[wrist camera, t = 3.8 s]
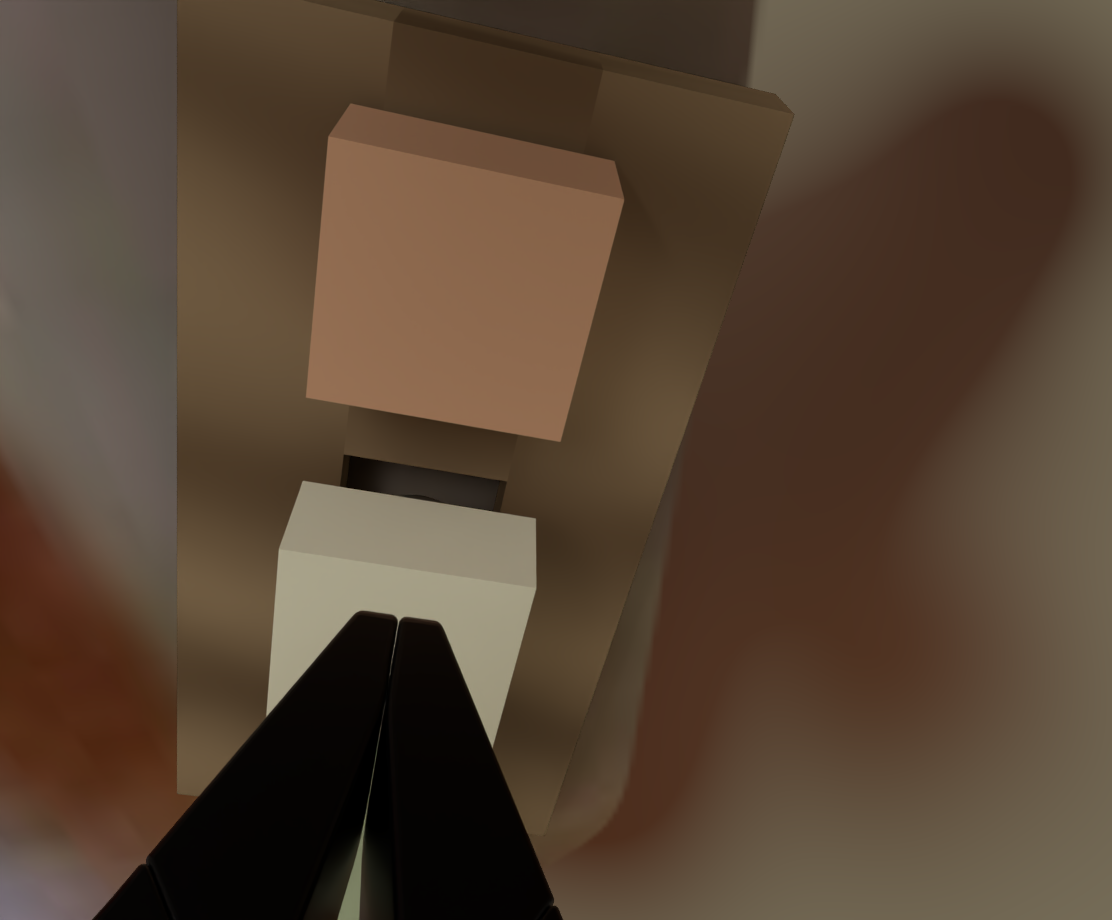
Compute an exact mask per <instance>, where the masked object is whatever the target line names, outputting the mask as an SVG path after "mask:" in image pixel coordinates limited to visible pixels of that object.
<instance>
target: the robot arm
mask: <svg viewBox="0 0 1112 920" xmlns="http://www.w3.org/2000/svg"><path fill="white" fill-rule="evenodd" d="M397 626H398V629H397ZM396 632H397V635H396ZM395 639H396V641H395ZM394 645H395V647H394ZM393 651H394V652H393ZM392 657H393V658H392ZM391 663H392V664H391ZM390 669H391V670H390ZM389 675H390V676H389ZM388 681H389V682H388ZM380 728H381V729H380ZM379 734H380V735H379ZM378 740H379V741H378ZM377 746H378V747H377ZM376 752H377V753H376ZM375 758H376V759H375ZM374 763H375V765H374ZM373 769H374V771H373ZM372 775H373V777H372ZM371 781H372V783H371ZM370 787H371V789H370ZM369 792H370V795H369ZM368 798H369V801H368ZM367 804H368V807H367ZM366 810H367V813H366ZM365 815H366V821H365V828H364V836H363V848H362V863H361V887H360V911H359V920H563V919H562V916H561V914H560V911H559V909H558V907H556V906H553V903H554V898H553V895H552V893H551V890H550V888H549V885H548V883H547V880H546V878H545V875H544V873H543V870H542V868H541V866H540V863H539V861H538V858H537V856H536V853H535V851H534V848H533V846H532V844H531V841H530V839H529V836H528V834H527V831H526V829H525V826H524V824H523V821H522V819H521V817H520V814H519V812H518V809H517V807H516V804H515V802H514V799H513V797H512V794H511V792H510V790H509V787H508V785H507V782H506V780H505V777H504V775H503V772H502V770H501V768H500V765H499V763H498V760H497V758H496V755H495V753H494V750H493V748H492V745H491V743H490V741H489V738H488V736H487V733H486V731H485V728H484V726H483V723H482V721H481V718H480V716H479V714H478V711H477V709H476V706H475V704H474V701H473V699H472V696H471V694H470V692H469V689H468V687H467V684H466V682H465V679H464V677H463V674H462V672H461V669H460V667H459V665H458V662H457V660H456V657H455V655H454V652H453V650H452V647H451V645H450V642H449V640H448V638H447V635H446V633H445V630H444V628H443V626H442V625H441V624H440V623H439V622H438V621H435V620H428V619H421V618H414V617H403V618H401V620H400V621H399V623H398V619H397V617H396V616H394V615H392V614H386V613H379V612H372V611H364V610H361V611H358V612H356V613H355V614H354V615H353V616H352V617H351V618H350V619H349V620H348V622H347V623H346V624H345V625H344V626H343V627H342V629H341V630H340V631H339V632H338V633H337V634H336V636H335V637H334V638H333V639H332V640H331V642H330V643H329V644H328V645H327V646H326V647H325V649H324V650H323V651H322V652H321V653H320V654H319V656H318V657H317V658H316V659H315V660H314V661H313V663H312V664H311V665H310V666H309V667H308V669H307V670H306V671H305V672H304V673H303V674H302V676H301V677H300V678H299V679H298V680H297V681H296V683H295V684H294V685H293V686H292V687H291V688H290V690H289V691H288V692H287V693H286V694H285V696H284V697H283V698H282V699H281V700H280V701H279V703H278V704H277V705H276V706H275V707H274V708H273V710H272V711H271V712H270V713H269V714H268V715H267V717H266V718H265V719H264V720H263V721H262V723H261V724H260V725H259V726H258V727H257V728H256V730H255V731H254V732H253V733H252V734H251V735H250V737H249V738H248V739H247V740H246V741H245V742H244V744H243V745H242V746H241V747H240V748H239V750H238V751H237V752H236V753H235V754H234V755H233V757H232V758H231V759H230V760H229V761H228V762H227V764H226V765H225V766H224V767H223V768H222V769H221V771H220V772H219V773H218V774H217V775H216V777H215V778H214V779H213V780H212V781H211V782H210V784H209V785H208V786H207V787H206V788H205V789H204V791H203V792H202V793H201V794H200V795H199V796H198V798H197V799H196V800H195V801H194V802H193V804H192V805H191V806H190V807H189V808H188V809H187V811H186V812H185V813H184V814H183V815H182V816H181V818H180V819H179V820H178V821H177V822H176V823H175V825H174V826H173V827H172V828H171V829H170V831H169V832H168V833H167V834H166V835H165V836H164V838H163V839H162V840H161V841H160V842H159V843H158V845H157V846H156V847H155V848H154V849H153V850H152V852H151V853H150V854H149V855H148V856H147V859H146V864H141V865H139V866H138V867H137V869H136V870H135V871H134V872H133V873H132V874H131V876H130V877H129V878H128V879H127V880H126V882H125V883H124V884H123V885H122V886H121V887H120V889H119V890H118V891H117V892H116V893H115V894H114V896H113V897H112V898H111V899H110V900H109V901H108V903H107V904H106V905H105V906H104V907H103V908H102V909H101V910H100V911H99V912H98V914H97V915H96V916H95V917H94V918H93V919H92V920H337V919H338V916H339V913H340V909H341V906H342V903H343V899H344V896H345V892H346V889H347V886H348V882H349V879H350V876H351V872H352V869H353V865H354V862H355V858H356V855H357V851H358V847H359V843H360V839H361V835H362V830H363V825H364V820H365Z"/></svg>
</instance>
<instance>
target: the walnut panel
mask: <svg viewBox="0 0 1112 920" xmlns="http://www.w3.org/2000/svg"><path fill="white" fill-rule="evenodd" d="M350 103H351V104H355V105H360V106H365V107H369V108H374V109H378V110H383V111H388V112H392V113H397V114H401V115H406V116H410V117H415V118H420V119H424V120H429V121H433V122H438V123H443V124H447V125H452V126H456V127H461V128H465V129H470V130H475V131H479V132H484V133H488V134H493V135H498V136H502V137H507V138H511V139H516V140H520V141H525V142H530V143H534V144H539V145H543V146H548V147H553V148H557V149H562V150H566V151H571V152H575V153H580V154H585V155H589V156H594V157H598V158H603V159H608V160H612V161H615V165H616V169H617V173H618V176H619V180H620V184H621V188H622V192H623V196H624V203H623V207H622V210H621V214H620V218H619V222H618V226H617V229H616V233H615V237H614V241H613V245H612V248H611V252H610V256H609V260H608V264H607V267H606V271H605V275H604V279H603V282H602V286H601V290H600V294H599V298H598V301H597V305H596V309H595V313H594V317H593V320H592V324H591V328H590V332H589V336H588V339H587V343H586V347H585V351H584V355H583V358H582V362H581V366H580V370H579V374H578V377H577V381H576V385H575V389H574V392H573V396H572V400H571V404H570V408H569V411H568V415H567V419H566V423H565V427H564V430H563V434H562V438H561V442H558V441H552V440H547V439H541V438H535V437H529V436H524V435H518V434H512V433H506V432H501V431H495V430H489V429H484V428H478V427H472V426H466V425H461V424H455V423H449V422H443V421H438V420H432V419H426V418H420V417H415V416H409V415H403V414H397V413H392V412H386V411H380V410H375V409H369V408H363V407H357V406H352V405H346V404H340V403H334V402H329V401H323V400H317V399H311V398H306V390H307V378H308V367H309V355H310V344H311V332H312V320H313V309H314V297H315V285H316V274H317V262H318V251H319V239H320V227H321V216H322V204H323V192H324V181H325V169H326V158H327V146H328V136H329V135H330V133H331V132H332V130H333V129H334V127H335V126H336V124H337V123H338V121H339V120H340V118H341V117H342V115H343V114H344V112H345V111H346V109H347V108H348V106H349V105H350ZM793 118H794V113H793V112H792V111H791V110H790V109H789V108H788V107H787V106H786V105H785V104H784V103H783V102H782V101H781V100H780V99H779V97H778V96H777V95H776V94H773V93H769V92H765V91H760V90H756V89H752V88H748V87H743V86H739V85H735V84H730V83H726V82H722V81H718V80H713V79H709V78H705V77H701V76H696V75H692V74H688V73H683V72H679V71H675V70H671V69H666V68H662V67H658V66H654V65H649V64H645V63H641V62H636V61H632V60H628V59H624V58H619V57H615V56H611V55H607V54H602V53H598V52H594V51H589V50H585V49H581V48H577V47H572V46H568V45H564V44H560V43H555V42H551V41H547V40H542V39H538V38H534V37H530V36H525V35H521V34H517V33H513V32H508V31H504V30H500V29H495V28H491V27H487V26H483V25H478V24H474V23H470V22H466V21H461V20H457V19H453V18H448V17H444V16H440V15H436V14H431V13H427V12H423V11H419V10H414V9H410V8H406V7H401V6H397V5H393V4H389V3H384V2H380V1H376V0H177V794H183V795H192V796H199V795H200V794H201V793H202V792H203V791H204V789H205V788H206V787H207V786H208V785H209V784H210V782H211V781H212V780H213V779H214V778H215V777H216V775H217V774H218V773H219V772H220V771H221V769H222V768H223V767H224V766H225V765H226V764H227V762H228V761H229V760H230V759H231V758H232V757H233V755H234V754H235V753H236V752H237V751H238V750H239V748H240V747H241V746H242V745H243V744H244V742H245V741H246V740H247V739H248V738H249V737H250V735H251V734H252V733H253V732H254V731H255V730H256V728H257V727H258V726H259V725H260V724H261V723H262V721H263V720H264V719H265V718H266V713H267V699H268V686H269V673H270V660H271V646H272V633H273V620H274V607H275V594H276V580H277V567H278V554H279V547H280V544H281V542H282V539H283V536H284V533H285V530H286V527H287V525H288V522H289V519H290V516H291V513H292V510H293V508H294V505H295V502H296V499H297V496H298V493H299V491H300V488H301V485H302V482H303V481H307V482H313V483H320V484H326V485H332V486H338V487H344V488H347V479H348V471H349V463H350V455H351V456H357V457H363V458H369V459H375V460H381V461H387V462H393V463H399V464H405V465H411V466H417V467H423V468H429V469H435V470H441V471H447V472H453V473H459V474H465V475H471V476H477V477H483V478H489V479H495V480H500V483H499V487H498V491H497V496H496V500H495V505H494V509H493V512H498V513H505V514H511V515H517V516H523V517H529V518H535V519H536V591H535V595H534V599H533V602H532V606H531V610H530V613H529V617H528V621H527V624H526V628H525V631H524V635H523V639H522V642H521V646H520V650H519V653H518V657H517V661H516V664H515V668H514V671H513V675H512V679H511V682H510V686H509V690H508V693H507V697H506V701H505V704H504V708H503V712H502V715H501V719H500V722H499V726H498V730H497V733H496V737H495V741H494V744H493V750H494V753H495V755H496V758H497V760H498V763H499V765H500V768H501V770H502V772H503V775H504V777H505V780H506V782H507V785H508V787H509V790H510V792H511V794H512V797H513V799H514V802H515V804H516V807H517V809H518V812H519V814H520V817H521V819H522V821H523V824H524V826H525V829H526V831H527V834H531V835H540V836H545V833H546V830H547V827H548V824H549V822H550V819H551V816H552V813H553V810H554V807H555V804H556V801H557V798H558V796H559V793H560V790H561V787H562V784H563V781H564V778H565V775H566V773H567V770H568V767H569V764H570V761H571V758H572V755H573V752H574V749H575V747H576V744H577V741H578V738H579V735H580V732H581V729H582V726H583V723H584V721H585V718H586V715H587V712H588V709H589V706H590V703H591V700H592V698H593V695H594V692H595V689H596V686H597V683H598V680H599V677H600V674H601V672H602V669H603V666H604V663H605V660H606V657H607V654H608V651H609V648H610V646H611V643H612V640H613V637H614V634H615V631H616V628H617V625H618V622H619V620H620V617H621V614H622V611H623V608H624V605H625V602H626V599H627V597H628V594H629V591H630V588H631V585H632V582H633V579H634V576H635V573H636V571H637V568H638V565H639V562H640V559H641V556H642V553H643V550H644V547H645V545H646V542H647V539H648V536H649V533H650V530H651V527H652V524H653V522H654V519H655V516H656V513H657V510H658V507H659V504H660V501H661V498H662V496H663V493H664V490H665V487H666V484H667V481H668V478H669V475H670V472H671V470H672V467H673V464H674V461H675V458H676V455H677V452H678V449H679V447H680V444H681V441H682V438H683V435H684V432H685V429H686V426H687V423H688V421H689V418H690V415H691V412H692V409H693V406H694V403H695V400H696V397H697V395H698V392H699V389H700V386H701V383H702V380H703V377H704V374H705V372H706V369H707V366H708V363H709V360H710V357H711V354H712V351H713V348H714V346H715V343H716V340H717V337H718V334H719V331H720V328H721V325H722V322H723V319H724V317H725V314H726V311H727V308H728V305H729V302H730V299H731V296H732V293H733V290H734V288H735V285H736V282H737V279H738V276H739V273H740V270H741V268H742V265H743V262H744V259H745V256H746V253H747V250H748V247H749V245H750V241H751V239H752V236H753V233H754V230H755V227H756V224H757V221H758V219H759V216H760V213H761V210H762V207H763V204H764V201H765V198H766V196H767V193H768V190H769V187H770V184H771V181H772V178H773V175H774V172H775V169H776V167H777V164H778V161H779V158H780V155H781V152H782V149H783V146H784V144H785V141H786V138H787V135H788V132H789V129H790V126H791V123H792V121H793Z"/></svg>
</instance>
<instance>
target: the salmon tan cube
mask: <svg viewBox="0 0 1112 920" xmlns="http://www.w3.org/2000/svg"><path fill="white" fill-rule="evenodd" d="M623 203H624V196H623V192H622V188H621V184H620V180H619V176H618V173H617V169H616V165H615V161H612V160H608V159H603V158H598V157H594V156H589V155H585V154H580V153H575V152H571V151H566V150H562V149H557V148H553V147H548V146H543V145H539V144H534V143H530V142H525V141H520V140H516V139H511V138H507V137H502V136H498V135H493V134H488V133H484V132H479V131H475V130H470V129H465V128H461V127H456V126H452V125H447V124H443V123H438V122H433V121H429V120H424V119H420V118H415V117H410V116H406V115H401V114H397V113H392V112H388V111H383V110H378V109H374V108H369V107H365V106H360V105H355V104H351V103H350V105H349V106H348V108H347V109H346V111H345V112H344V114H343V115H342V117H341V118H340V120H339V121H338V123H337V124H336V126H335V127H334V129H333V130H332V132H331V133H330V135H329V136H328V146H327V158H326V169H325V181H324V192H323V204H322V216H321V227H320V239H319V251H318V262H317V274H316V285H315V297H314V309H313V320H312V332H311V344H310V355H309V367H308V378H307V390H306V398H311V399H317V400H323V401H329V402H334V403H340V404H346V405H352V406H357V407H363V408H369V409H375V410H380V411H386V412H392V413H397V414H403V415H409V416H415V417H420V418H426V419H432V420H438V421H443V422H449V423H455V424H461V425H466V426H472V427H478V428H484V429H489V430H495V431H501V432H506V433H512V434H518V435H524V436H529V437H535V438H541V439H547V440H552V441H558V442H561V438H562V434H563V430H564V427H565V423H566V419H567V415H568V411H569V408H570V404H571V400H572V396H573V392H574V389H575V385H576V381H577V377H578V374H579V370H580V366H581V362H582V358H583V355H584V351H585V347H586V343H587V339H588V336H589V332H590V328H591V324H592V320H593V317H594V313H595V309H596V305H597V301H598V298H599V294H600V290H601V286H602V282H603V279H604V275H605V271H606V267H607V264H608V260H609V256H610V252H611V248H612V245H613V241H614V237H615V233H616V229H617V226H618V222H619V218H620V214H621V210H622V207H623Z"/></svg>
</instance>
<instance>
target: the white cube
mask: <svg viewBox="0 0 1112 920" xmlns="http://www.w3.org/2000/svg"><path fill="white" fill-rule="evenodd" d="M535 591H536V519H535V518H529V517H523V516H517V515H511V514H505V513H498V512H492V511H486V510H480V509H474V508H468V507H461V506H455V505H449V504H444V503H442V502H440V501H438V500H435V499H432V498H429V497H425V496H419V495H401V496H394V495H387V494H381V493H375V492H369V491H363V490H357V489H350V488H344V487H338V486H332V485H326V484H320V483H313V482H307V481H303V482H302V485H301V488H300V491H299V493H298V496H297V499H296V502H295V505H294V508H293V510H292V513H291V516H290V519H289V522H288V525H287V527H286V530H285V533H284V536H283V539H282V542H281V544H280V547H279V554H278V567H277V580H276V594H275V607H274V620H273V633H272V646H271V660H270V673H269V686H268V699H267V713H266V717H267V715H268V714H269V713H270V712H271V711H272V710H273V708H274V707H275V706H276V705H277V704H278V703H279V701H280V700H281V699H282V698H283V697H284V696H285V694H286V693H287V692H288V691H289V690H290V688H291V687H292V686H293V685H294V684H295V683H296V681H297V680H298V679H299V678H300V677H301V676H302V674H303V673H304V672H305V671H306V670H307V669H308V667H309V666H310V665H311V664H312V663H313V661H314V660H315V659H316V658H317V657H318V656H319V654H320V653H321V652H322V651H323V650H324V649H325V647H326V646H327V645H328V644H329V643H330V642H331V640H332V639H333V638H334V637H335V636H336V634H337V633H338V632H339V631H340V630H341V629H342V627H343V626H344V625H345V624H346V623H347V622H348V620H349V619H350V618H351V617H352V616H353V615H354V614H355V613H356V612H358V611H361V610H364V611H372V612H379V613H386V614H392V615H394V616H396V617H397V619H398V623H399V621H400V620H401V618H403V617H414V618H421V619H428V620H435V621H438V622H439V623H440V624H441V625H442V626H443V628H444V630H445V633H446V635H447V638H448V640H449V642H450V645H451V647H452V650H453V652H454V655H455V657H456V660H457V662H458V665H459V667H460V669H461V672H462V674H463V677H464V679H465V682H466V684H467V687H468V689H469V692H470V694H471V696H472V699H473V701H474V704H475V706H476V709H477V711H478V714H479V716H480V718H481V721H482V723H483V726H484V728H485V731H486V733H487V736H488V738H489V741H490V743H491V745H492V748H493V744H494V741H495V737H496V733H497V730H498V726H499V722H500V719H501V715H502V712H503V708H504V704H505V701H506V697H507V693H508V690H509V686H510V682H511V679H512V675H513V671H514V668H515V664H516V661H517V657H518V653H519V650H520V646H521V642H522V639H523V635H524V631H525V628H526V624H527V621H528V617H529V613H530V610H531V606H532V602H533V599H534V595H535ZM397 629H398V626H397ZM396 635H397V632H396ZM395 641H396V639H395ZM394 647H395V645H394ZM393 652H394V651H393ZM392 658H393V657H392ZM391 664H392V663H391ZM390 670H391V669H390ZM389 676H390V675H389ZM388 682H389V681H388ZM380 729H381V728H380ZM379 735H380V734H379Z"/></svg>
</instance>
